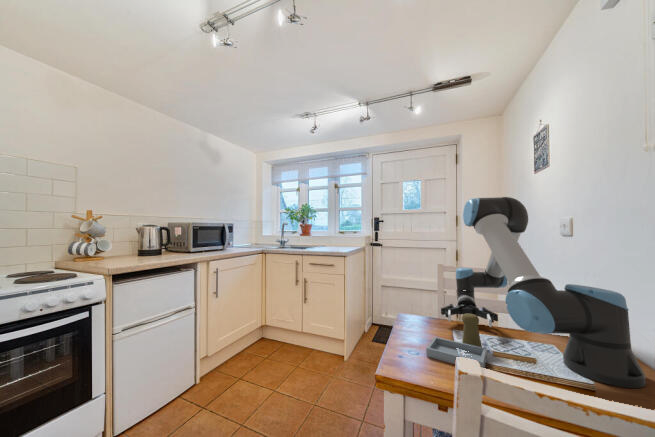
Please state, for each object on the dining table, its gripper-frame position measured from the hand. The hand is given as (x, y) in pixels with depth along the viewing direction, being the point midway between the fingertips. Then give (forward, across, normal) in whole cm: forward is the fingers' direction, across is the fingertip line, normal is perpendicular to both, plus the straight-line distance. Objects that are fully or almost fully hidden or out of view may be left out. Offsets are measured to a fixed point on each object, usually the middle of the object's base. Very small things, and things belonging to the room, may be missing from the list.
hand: (469, 320), depth 93 cm
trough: (+19, +5, -6) cm, 20 cm away
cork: (+9, 0, -6) cm, 11 cm away
